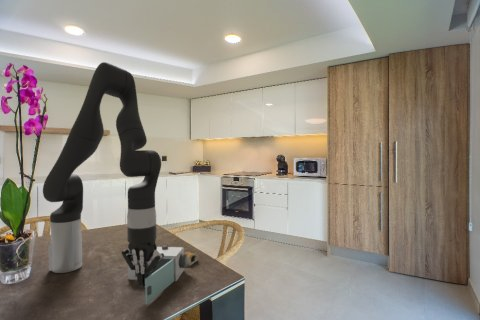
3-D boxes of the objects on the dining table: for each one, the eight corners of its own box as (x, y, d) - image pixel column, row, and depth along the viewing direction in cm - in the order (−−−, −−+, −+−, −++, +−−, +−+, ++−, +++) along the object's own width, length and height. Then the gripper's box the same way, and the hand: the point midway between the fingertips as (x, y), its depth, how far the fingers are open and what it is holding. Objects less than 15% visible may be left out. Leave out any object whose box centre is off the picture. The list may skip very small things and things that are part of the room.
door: (148, 304, 75) (148, 278, 75) (144, 304, 76) (144, 278, 75) (177, 280, 90) (176, 257, 89) (173, 279, 90) (172, 257, 90)
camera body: (127, 279, 92) (127, 252, 91) (139, 269, 100) (138, 244, 99) (182, 281, 90) (181, 253, 90) (189, 270, 98) (188, 245, 98)
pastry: (167, 263, 105) (167, 253, 105) (179, 257, 111) (179, 247, 111) (189, 267, 101) (188, 256, 101) (199, 261, 107) (199, 250, 107)
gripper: (170, 222, 79) (171, 283, 80) (132, 218, 84) (133, 275, 85) (153, 229, 72) (154, 296, 73) (112, 224, 77) (113, 287, 78)
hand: (143, 285), depth 79 cm, fingers closed
